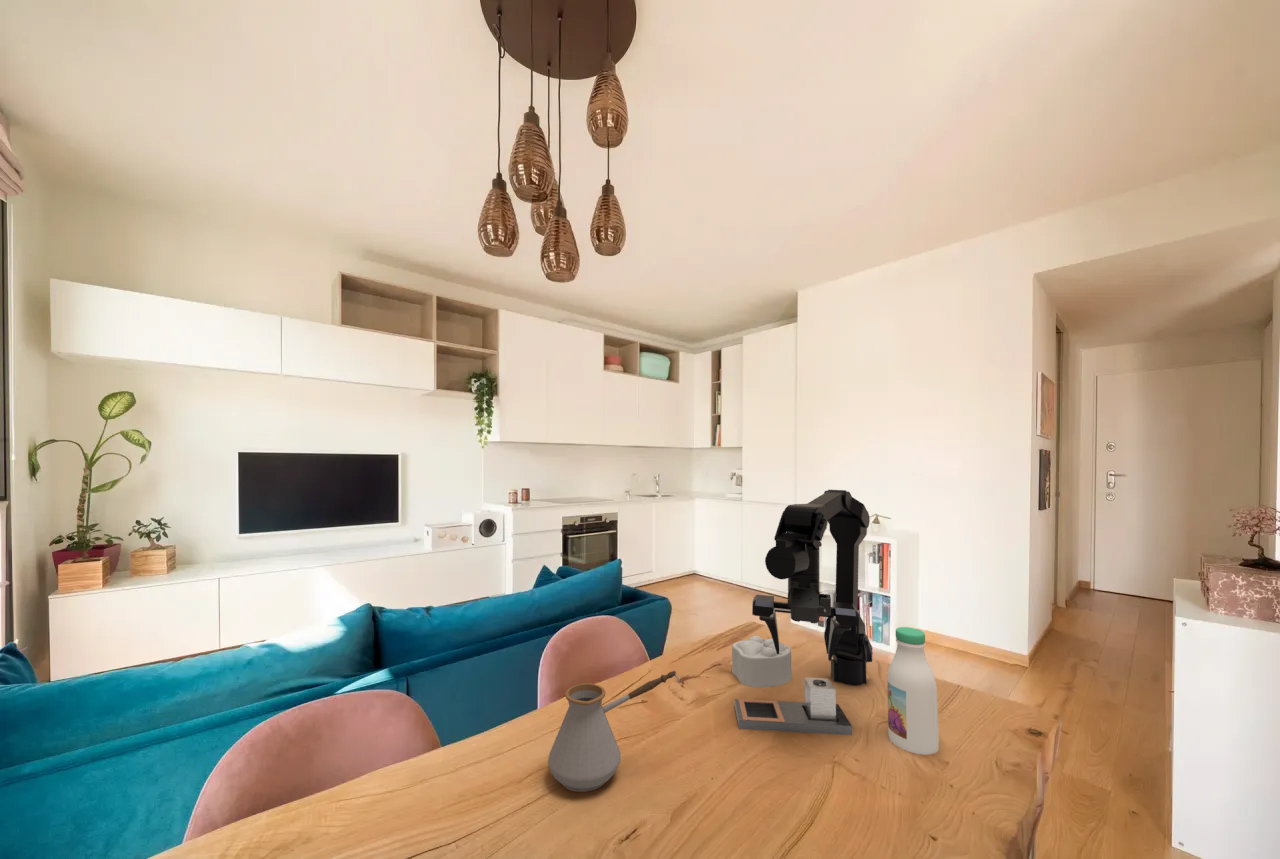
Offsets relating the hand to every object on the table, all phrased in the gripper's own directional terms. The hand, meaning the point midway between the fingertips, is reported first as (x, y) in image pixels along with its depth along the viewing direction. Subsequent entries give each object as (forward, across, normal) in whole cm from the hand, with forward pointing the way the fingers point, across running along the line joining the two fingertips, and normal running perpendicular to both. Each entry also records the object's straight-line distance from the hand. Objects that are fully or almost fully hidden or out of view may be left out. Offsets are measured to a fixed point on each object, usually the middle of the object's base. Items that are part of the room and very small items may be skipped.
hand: (803, 656), depth 92 cm
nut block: (+12, +3, +2) cm, 13 cm away
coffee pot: (+15, -29, -22) cm, 39 cm away
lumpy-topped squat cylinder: (+13, -8, +19) cm, 25 cm away
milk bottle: (+13, +18, 0) cm, 23 cm away
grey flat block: (+13, -2, +1) cm, 13 cm away
